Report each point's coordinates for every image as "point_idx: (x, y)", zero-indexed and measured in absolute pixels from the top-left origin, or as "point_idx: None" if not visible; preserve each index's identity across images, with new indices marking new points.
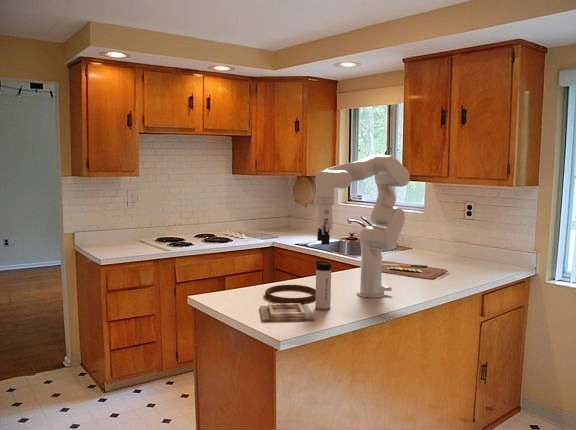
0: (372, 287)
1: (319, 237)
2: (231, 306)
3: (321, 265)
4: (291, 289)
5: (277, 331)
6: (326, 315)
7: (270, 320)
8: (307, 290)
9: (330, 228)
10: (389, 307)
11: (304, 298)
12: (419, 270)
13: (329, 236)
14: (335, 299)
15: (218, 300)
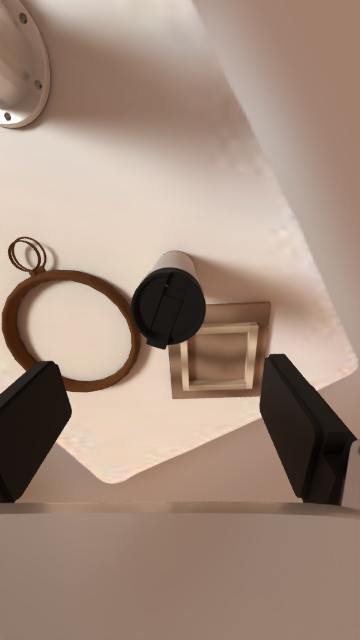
0: (10, 34)
1: (53, 426)
2: (161, 435)
3: (201, 323)
4: (17, 331)
5: (315, 372)
6: (232, 268)
7: (260, 382)
8: (24, 294)
9: (257, 523)
10: (163, 17)
11: (129, 314)
12: None
13: (333, 413)
14: (86, 221)
15: (125, 453)
